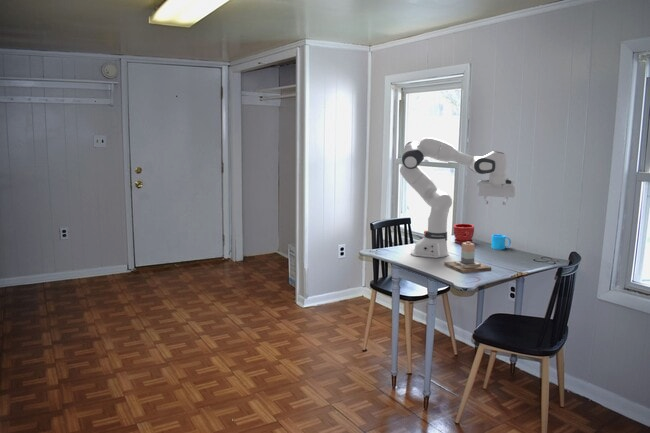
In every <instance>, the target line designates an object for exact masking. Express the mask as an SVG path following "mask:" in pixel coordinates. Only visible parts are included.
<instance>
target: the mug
mask: <svg viewBox="0 0 650 433" xmlns="http://www.w3.org/2000/svg"><path fill="white" fill-rule="evenodd" d="M506 239H507V240H508V241H509V242H508V244H507V245H506ZM511 244H512V240H511V239H510V238H509V237H508V236H506V235H504V234H491V249H492V248H493V250H499V251H500V250H505V249H506V248H507V247H509V246H510V245H511Z"/></svg>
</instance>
